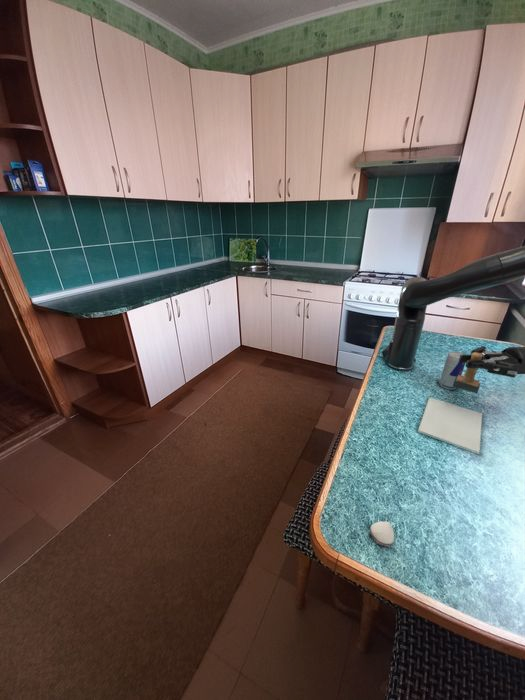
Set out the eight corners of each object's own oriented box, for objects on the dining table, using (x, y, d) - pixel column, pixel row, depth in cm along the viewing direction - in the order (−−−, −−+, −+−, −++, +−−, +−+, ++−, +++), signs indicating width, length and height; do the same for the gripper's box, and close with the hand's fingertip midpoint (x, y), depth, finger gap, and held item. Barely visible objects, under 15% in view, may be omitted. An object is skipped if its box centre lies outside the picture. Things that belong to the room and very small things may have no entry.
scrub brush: (452, 386, 84) (464, 353, 79) (454, 381, 86) (465, 349, 81) (477, 393, 81) (490, 359, 76) (478, 388, 83) (491, 355, 78)
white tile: (417, 432, 80) (418, 429, 80) (428, 399, 93) (429, 397, 93) (478, 454, 73) (479, 452, 72) (481, 415, 86) (482, 413, 85)
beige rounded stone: (365, 536, 56) (367, 528, 54) (377, 518, 59) (380, 510, 57) (387, 553, 53) (390, 545, 52) (399, 534, 56) (401, 526, 55)
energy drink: (459, 391, 97) (470, 359, 91) (441, 389, 98) (451, 358, 92) (453, 382, 101) (463, 351, 96) (436, 380, 102) (446, 350, 97)
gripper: (512, 337, 84) (452, 338, 84) (555, 361, 72) (485, 362, 72) (502, 359, 87) (445, 360, 88) (542, 386, 75) (475, 387, 75)
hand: (463, 361), depth 80 cm, fingers closed on scrub brush, 2 cm apart
